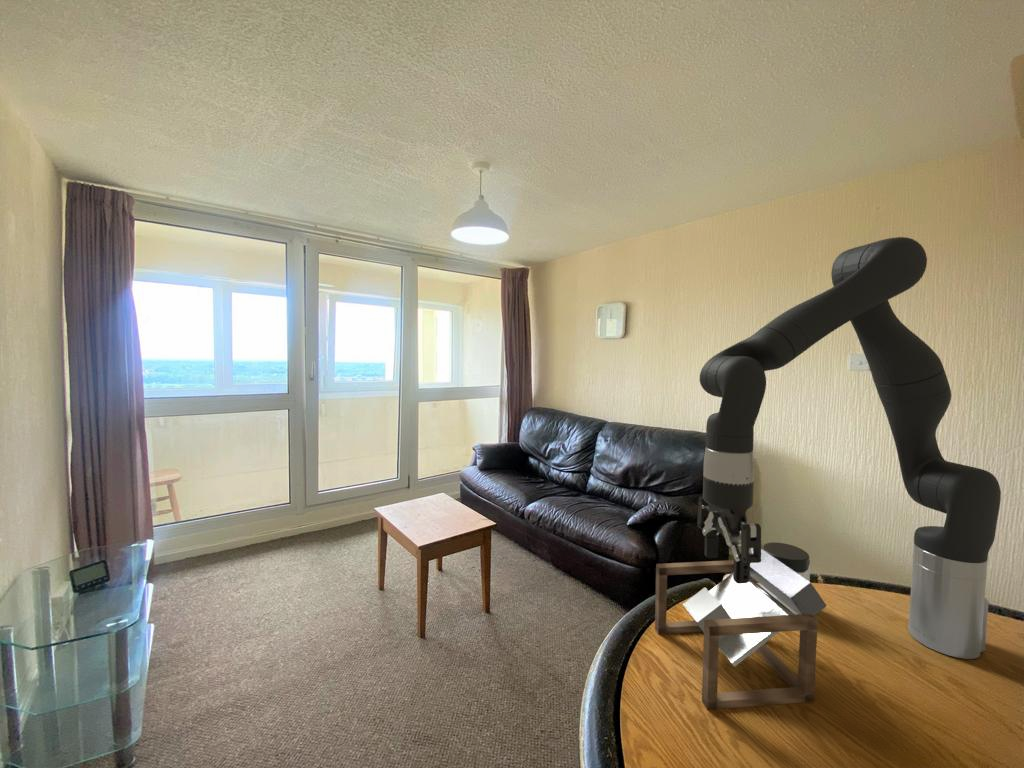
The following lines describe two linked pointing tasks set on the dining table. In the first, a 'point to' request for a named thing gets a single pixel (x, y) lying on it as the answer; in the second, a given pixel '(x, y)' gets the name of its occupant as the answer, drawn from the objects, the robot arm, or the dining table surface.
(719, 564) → the frame
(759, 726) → the dining table surface
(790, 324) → the robot arm
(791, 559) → the jar
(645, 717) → the dining table surface
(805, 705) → the dining table surface
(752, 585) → the trapdoor
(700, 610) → the gray cube
